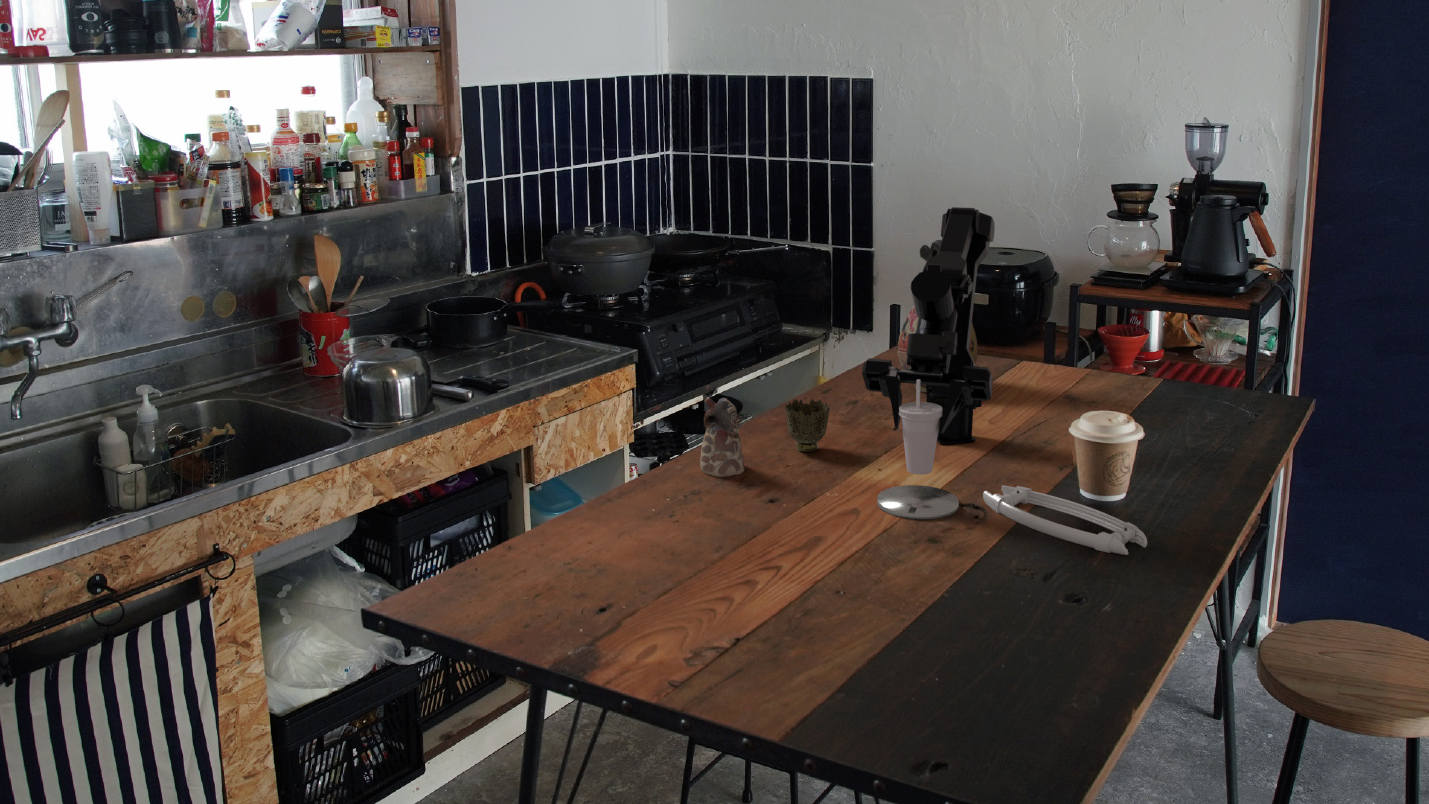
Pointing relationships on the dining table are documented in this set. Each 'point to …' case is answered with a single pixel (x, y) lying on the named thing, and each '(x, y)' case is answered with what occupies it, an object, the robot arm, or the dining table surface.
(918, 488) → the pad
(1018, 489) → the door handle
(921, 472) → the smoothie
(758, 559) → the dining table surface
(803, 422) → the cup
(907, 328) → the ceramic jug
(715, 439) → the figurine
